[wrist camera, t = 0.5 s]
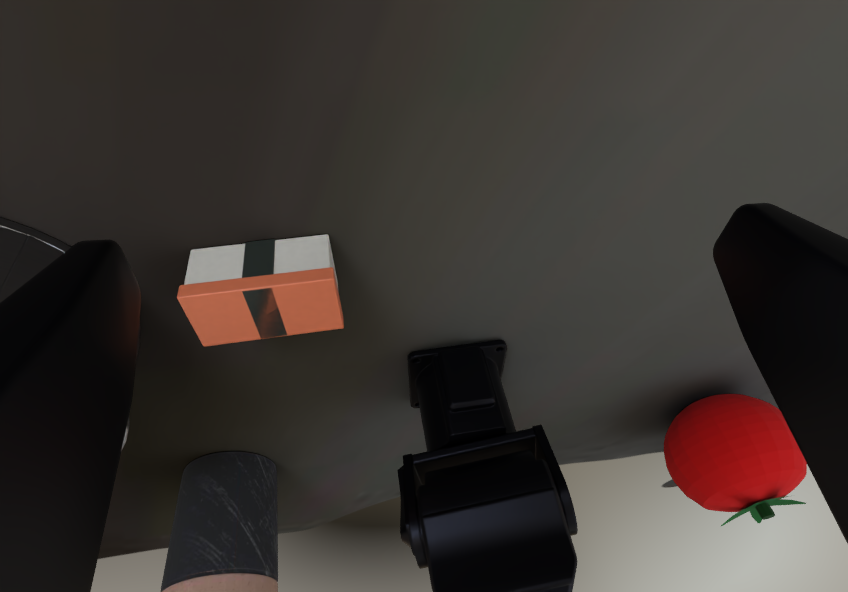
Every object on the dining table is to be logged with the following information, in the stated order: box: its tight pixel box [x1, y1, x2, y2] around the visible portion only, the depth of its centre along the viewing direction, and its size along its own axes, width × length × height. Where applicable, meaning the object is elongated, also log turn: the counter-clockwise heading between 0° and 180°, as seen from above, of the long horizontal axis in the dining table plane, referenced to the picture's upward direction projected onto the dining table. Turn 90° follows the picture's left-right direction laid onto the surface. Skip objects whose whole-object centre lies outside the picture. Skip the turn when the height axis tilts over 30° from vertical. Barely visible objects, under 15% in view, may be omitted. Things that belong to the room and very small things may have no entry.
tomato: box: [664, 394, 807, 526], centre depth 43 cm, size 10×10×10 cm
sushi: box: [177, 234, 344, 346], centre depth 25 cm, size 7×4×3 cm, turn 91°
